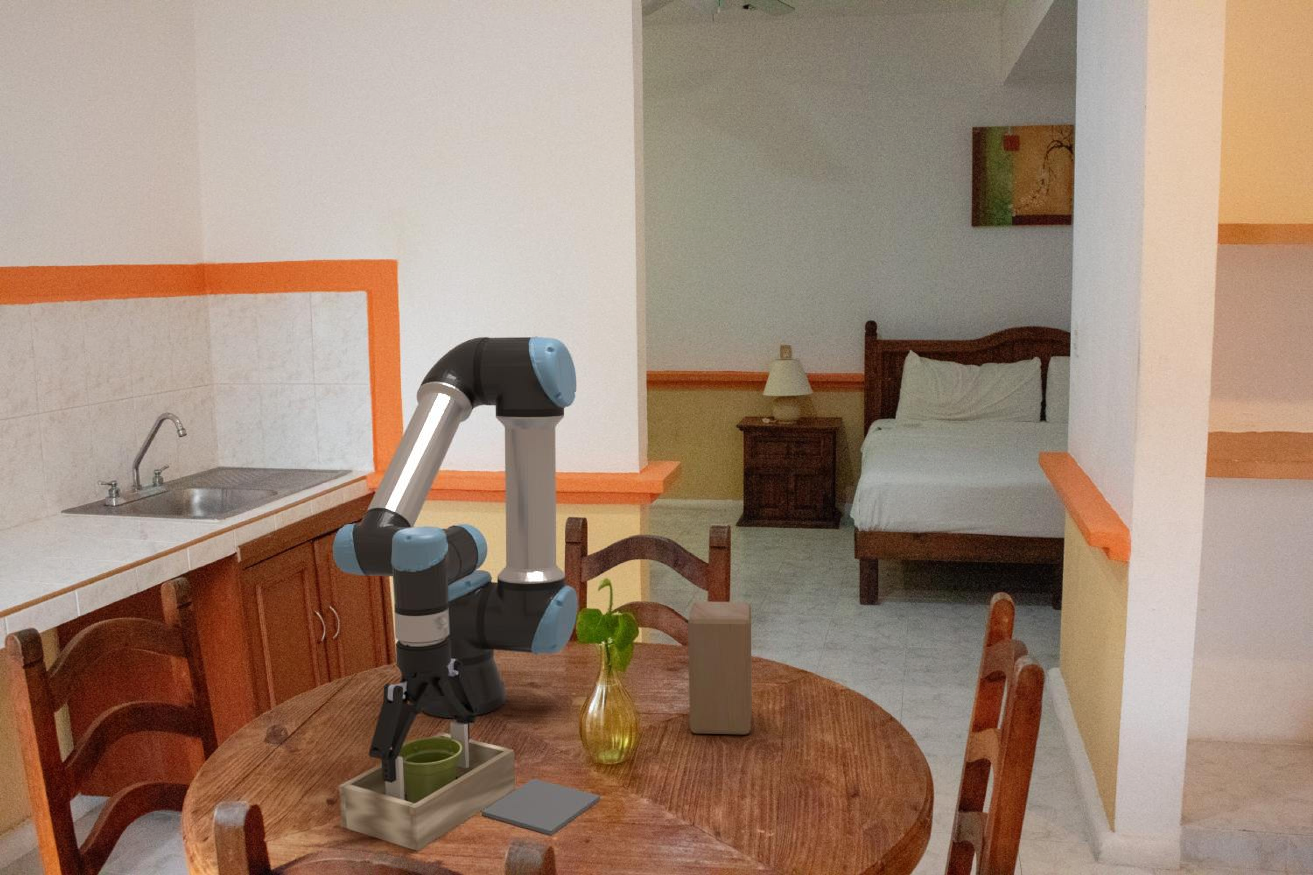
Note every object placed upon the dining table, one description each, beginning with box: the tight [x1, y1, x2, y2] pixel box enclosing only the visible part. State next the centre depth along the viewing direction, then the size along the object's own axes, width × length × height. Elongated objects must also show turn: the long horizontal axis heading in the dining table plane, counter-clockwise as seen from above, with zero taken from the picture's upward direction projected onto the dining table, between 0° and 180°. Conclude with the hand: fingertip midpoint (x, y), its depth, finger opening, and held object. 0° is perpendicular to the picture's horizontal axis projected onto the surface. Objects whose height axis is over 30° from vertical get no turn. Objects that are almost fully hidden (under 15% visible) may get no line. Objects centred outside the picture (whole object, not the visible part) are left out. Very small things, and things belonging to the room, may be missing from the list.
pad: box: [481, 778, 601, 836], centre depth 163 cm, size 12×12×1 cm
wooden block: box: [687, 601, 753, 735], centre depth 191 cm, size 10×10×20 cm
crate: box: [338, 731, 516, 852], centre depth 164 cm, size 14×21×6 cm, turn 149°
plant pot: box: [398, 736, 462, 803], centre depth 163 cm, size 9×9×9 cm
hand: (429, 783), depth 163 cm, fingers open, 13 cm apart
